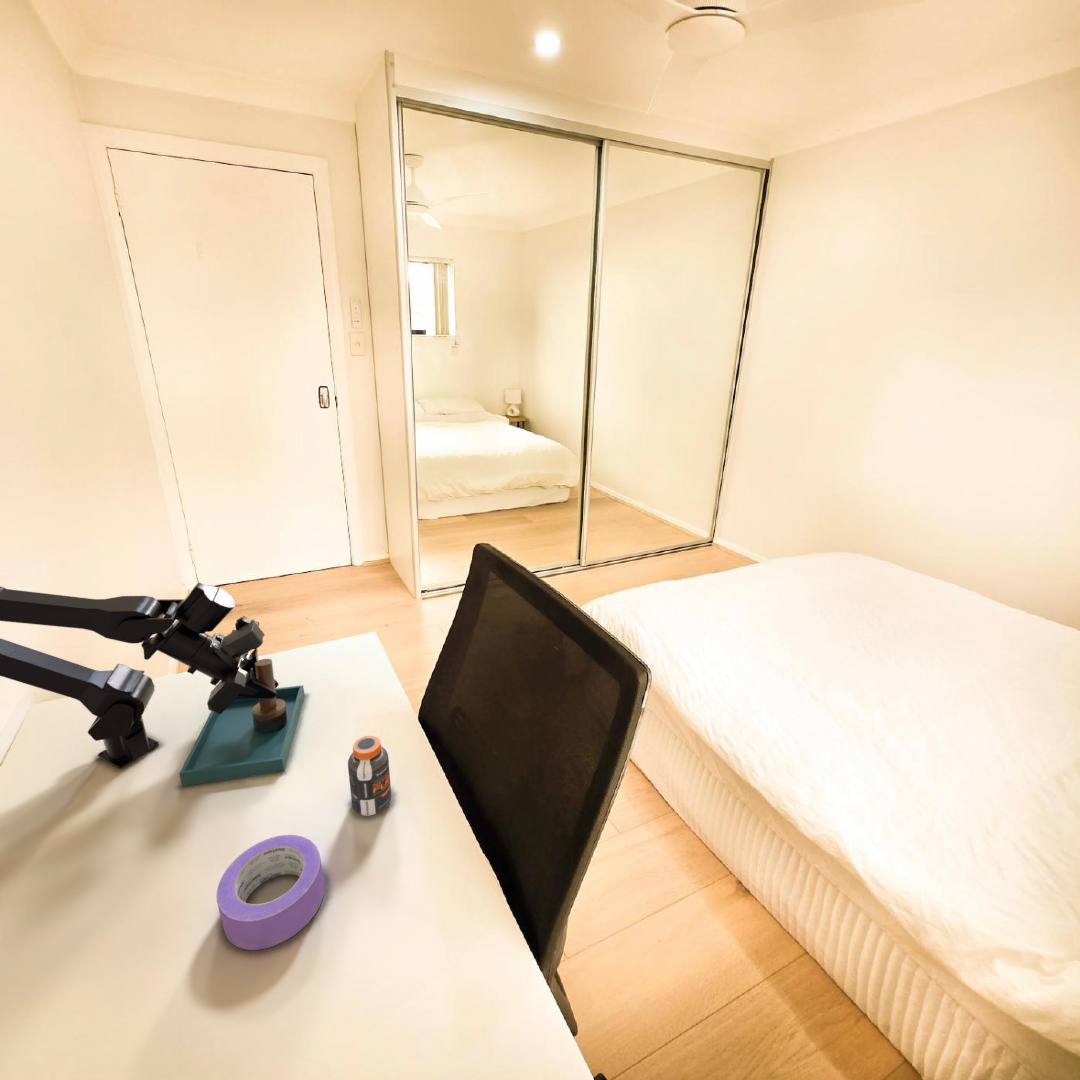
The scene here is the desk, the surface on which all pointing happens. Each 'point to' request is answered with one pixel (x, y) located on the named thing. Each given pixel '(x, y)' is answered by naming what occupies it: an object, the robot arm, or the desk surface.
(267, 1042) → the desk surface
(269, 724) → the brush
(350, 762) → the pill bottle
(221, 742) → the tray
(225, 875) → the tape roll
